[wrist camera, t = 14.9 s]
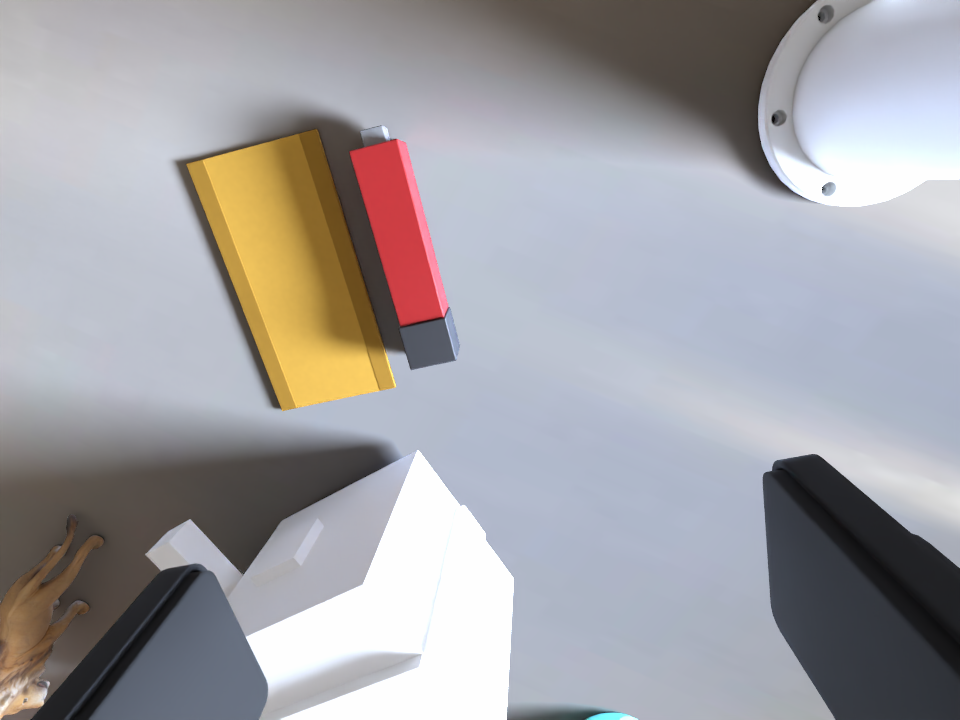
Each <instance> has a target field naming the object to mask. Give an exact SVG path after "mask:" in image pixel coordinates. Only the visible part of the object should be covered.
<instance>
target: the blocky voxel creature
mask: <svg viewBox="0 0 960 720" xmlns="http://www.w3.org/2000/svg"><path fill="white" fill-rule="evenodd" d="M485 536H486V534H485V532H484V531H483V530H482V528H481V527H480V525H479V524H478V523H477V521H476V520H475V519H474V517H473V516H472V515H471V513H470V512H469V511H468V509H467V508H466V507H465V505H463V506H461V507H460V505H459V504H458V503H457V501H456V500H455V499H454V497H453V496H452V495H451V493H450V492H449V491H448V489H447V488H446V487H445V485H444V484H443V483H442V481H441V480H440V479H439V477H438V476H437V475H436V473H435V472H434V470H433V469H432V468H431V466H430V465H429V464H428V462H427V461H426V460H425V458H424V457H423V456H422V454H421V453H420V452H419V450H416V451H414V452H413V453H411V454H409V455H407V456H405V457H403V458H401V459H399V460H397V461H395V462H393V463H391V464H389V465H388V466H386V467H384V468H382V469H380V470H378V471H376V472H374V473H372V474H370V475H368V476H366V477H364V478H363V479H361V480H359V481H357V482H355V483H353V484H351V485H349V486H347V487H345V488H343V489H341V490H339V491H338V492H336V493H334V494H332V495H330V496H328V497H326V498H324V499H322V500H320V501H318V502H316V503H314V504H313V505H311V506H309V507H307V508H305V509H303V510H301V511H299V512H297V513H295V514H293V515H291V516H289V517H288V518H286V519H284V520H282V521H281V523H280V524H279V525H278V527H277V528H276V530H275V531H274V533H273V534H272V535H271V537H270V538H269V540H268V541H267V543H266V544H265V545H264V547H263V548H262V550H261V551H260V553H259V554H258V555H257V557H256V558H255V560H254V561H253V562H252V564H251V565H250V567H249V568H248V570H247V571H246V572H245V574H244V575H242V574H241V573H240V572H239V571H238V570H237V569H236V567H235V566H234V565H233V564H232V563H231V562H230V561H229V560H228V559H227V558H226V557H225V556H224V555H223V554H222V553H221V551H220V550H219V549H218V548H217V547H216V546H215V545H214V544H213V543H212V542H211V541H210V540H209V539H208V538H207V537H206V535H205V534H204V533H203V532H202V531H201V530H200V529H199V528H198V527H197V526H196V525H195V524H194V523H193V522H192V521H191V519H189V520H188V521H186V522H184V523H182V524H180V525H179V526H177V527H175V528H173V529H172V530H170V531H168V532H167V533H166V534H165V535H164V536H163V537H162V538H161V539H160V540H159V541H158V542H157V543H156V544H155V545H154V546H153V547H152V548H151V549H150V550H149V551H148V552H147V553H146V554H145V555H146V556H147V557H148V558H149V559H150V560H151V561H152V562H153V563H154V564H155V565H156V566H157V567H158V568H159V569H160V570H161V571H162V570H165V569H168V568H173V567H178V566H184V565H190V564H195V563H196V564H201V565H203V566H204V567H205V568H206V569H207V570H209V571H212V572H213V573H214V574H215V576H216V577H217V580H218V582H219V584H220V586H221V588H222V590H223V592H224V594H225V596H226V598H227V600H228V602H229V604H230V606H231V608H232V610H233V612H234V614H235V616H236V618H237V620H238V622H239V624H240V627H241V629H242V631H243V633H244V635H245V637H246V639H247V641H248V643H249V645H250V647H251V649H252V651H253V653H254V655H255V657H256V659H257V661H258V663H259V665H260V667H261V669H262V671H263V673H264V676H265V678H266V680H267V683H268V697H267V701H266V704H265V707H264V709H263V711H262V714H261V716H260V718H259V720H506V716H507V697H508V677H509V658H510V639H511V620H512V601H513V582H514V578H513V577H512V576H511V574H510V573H509V571H508V570H507V569H506V567H505V566H504V565H503V563H502V562H501V561H500V559H499V558H498V557H497V555H496V554H495V553H494V551H493V550H492V549H491V547H490V546H489V545H488V543H487V542H486V541H485Z"/></svg>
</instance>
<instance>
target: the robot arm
mask: <svg viewBox="0 0 960 720" xmlns="http://www.w3.org/2000/svg"><path fill="white" fill-rule="evenodd" d="M818 15H819V16H820V18H821V19H820V21H819V19H818ZM772 115H773V116H774V117H775V122H774V123H773V124H772V121H771V119H772ZM758 129H759V134H760V139H761V144H762V148H763V151H764V153H765V155H766V158H767V160H768V162H769V165H770V166H771V168H772V169H773V171H774V172H775V173H776V175H777V176H778V177H779V179H780V180H781V181H782V182H783V183H784V184H785V185H787V186H788V187H789V188H790V189H791V190H792V191H793V192H795V193H797V194H799V195H801V196H803V197H805V198H806V199H808V200H811V201H814V202H818V203H822V204H825V205H834V206H844V207H846V206H866V205H870V204H874V203H879V202H883V201H886V200H889V199H891V198H894V197H896V196H899V195H901V194H904V193H906V192H907V191H909V190H911V189H912V188H914V187H916V186H917V185H919V184H920V183H922V182H924V181H925V180H953V179H960V0H818V1H816V2H815V3H814V4H813V5H811V6H810V7H809V8H808V9H807V10H806V11H805V12H804V13H803V14H802V15H801V16H800V17H799V18H798V19H797V20H796V21H795V23H794V24H793V25H792V27H791V28H790V29H789V31H788V32H787V33H786V35H785V36H784V38H783V39H782V40H781V42H780V44H779V46H778V47H777V49H776V51H775V53H774V55H773V57H772V59H771V61H770V63H769V65H768V68H767V71H766V74H765V77H764V80H763V83H762V87H761V93H760V99H759V105H758ZM822 187H824V189H823V191H822V192H821V190H822ZM763 493H764V509H765V524H766V539H767V554H768V569H769V584H770V599H771V609H772V612H773V616H774V619H775V621H776V624H777V626H778V628H779V630H780V632H781V633H782V635H783V636H784V638H785V640H786V641H787V643H788V644H789V646H790V648H791V649H792V651H793V652H794V654H795V656H796V657H797V659H798V660H799V662H800V664H801V665H802V667H803V668H804V670H805V671H806V673H807V675H808V676H809V678H810V679H811V681H812V683H813V684H814V686H815V687H816V689H817V691H818V692H819V694H820V695H821V697H822V699H823V700H824V702H825V703H826V705H827V706H828V708H829V710H830V711H831V713H832V714H833V716H834V718H835V719H836V720H960V568H959V567H957V566H956V565H955V564H954V563H953V562H951V561H950V560H949V559H948V558H947V557H945V556H944V555H943V554H942V553H941V552H939V551H938V550H937V549H936V548H935V547H933V546H932V545H931V544H930V543H928V542H927V541H925V540H924V539H922V538H921V537H919V536H918V535H915V534H911V533H910V532H909V531H908V530H907V529H905V528H904V527H903V526H902V525H901V524H900V523H898V522H897V521H896V520H895V519H894V518H892V517H891V516H890V515H889V514H888V513H887V512H885V511H884V510H883V509H882V508H881V507H880V506H878V505H877V504H876V503H875V502H874V501H872V500H871V499H870V498H869V497H868V496H867V495H865V494H864V493H863V492H862V491H861V490H859V489H858V488H857V487H856V486H855V485H854V484H852V483H851V482H850V481H849V480H848V479H846V478H845V477H844V476H843V475H842V474H841V473H839V472H838V471H837V470H836V469H835V468H834V467H832V466H831V465H830V464H829V463H828V462H826V461H825V460H824V459H823V458H822V457H820V456H818V455H816V454H811V455H805V456H799V457H794V458H788V459H782V460H777V461H775V462H774V464H773V467H772V471H770V472H766V473H764V475H763ZM267 697H268V683H267V680H266V678H265V676H264V673H263V671H262V669H261V667H260V665H259V663H258V661H257V659H256V657H255V655H254V653H253V651H252V649H251V647H250V645H249V643H248V641H247V639H246V637H245V635H244V633H243V631H242V629H241V627H240V624H239V622H238V620H237V618H236V616H235V614H234V612H233V610H232V608H231V606H230V604H229V602H228V600H227V598H226V596H225V594H224V592H223V590H222V588H221V586H220V584H219V582H218V580H217V577H216V576H215V574H214V573H213V572H212V571H209V570H207V569H206V568H205V567H204V566H203V565H201V564H196V563H195V564H190V565H184V566H178V567H173V568H168V569H165V570H162V571H161V572H160V573H159V574H158V575H157V576H156V577H155V578H154V579H153V580H152V581H151V583H150V584H149V585H148V586H147V587H146V588H145V589H144V591H143V592H142V593H141V594H140V595H139V596H138V597H137V599H136V600H135V601H134V602H133V603H132V604H131V605H130V607H129V608H128V609H127V610H126V611H125V612H124V613H123V615H122V616H121V617H120V618H119V619H118V620H117V621H116V623H115V624H114V625H113V626H112V627H111V628H110V629H109V631H108V632H107V633H106V634H105V635H104V636H103V637H102V639H101V640H100V641H99V642H98V643H97V644H96V645H95V647H94V648H93V649H92V650H91V651H90V652H89V654H88V655H87V656H86V657H85V658H84V659H83V660H82V662H81V663H80V664H79V665H78V666H77V667H76V668H75V670H74V671H73V672H72V673H71V674H70V675H69V676H68V678H67V679H66V680H65V681H64V682H63V683H62V684H61V686H60V687H59V688H58V689H57V690H56V691H55V692H54V694H53V695H52V696H51V697H50V698H49V699H48V700H47V702H46V703H45V704H44V705H43V706H42V707H41V708H40V710H39V711H38V712H37V713H36V714H35V715H34V716H33V718H32V719H31V720H259V718H260V716H261V714H262V711H263V709H264V707H265V704H266V701H267Z"/></svg>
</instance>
